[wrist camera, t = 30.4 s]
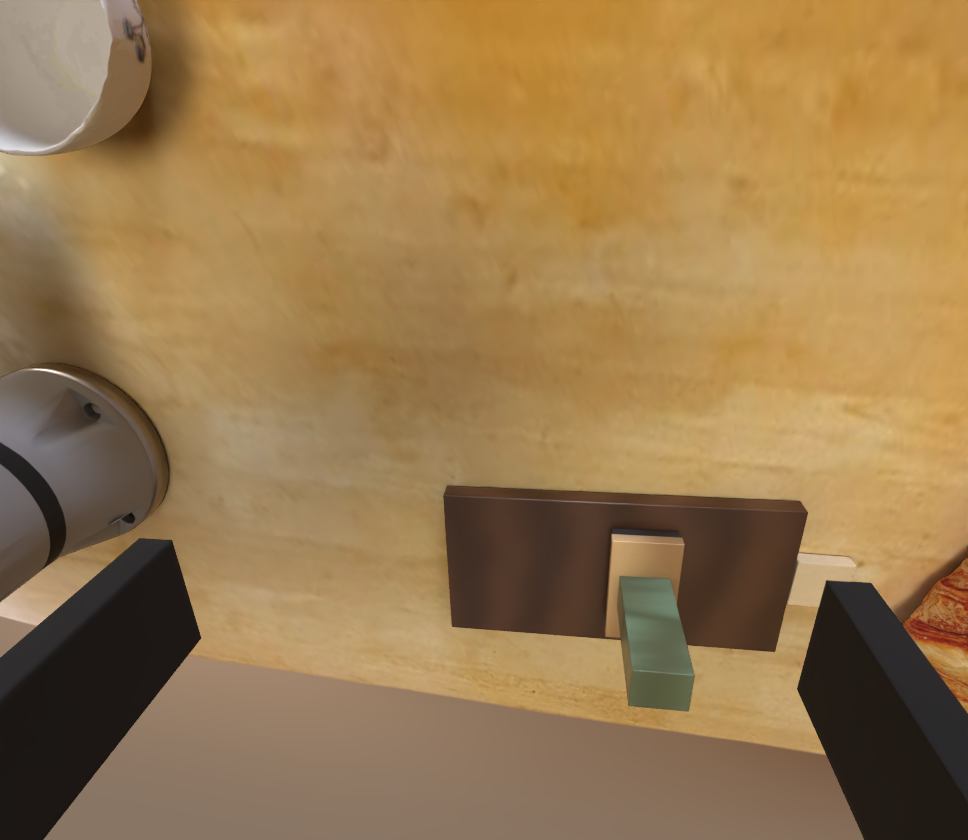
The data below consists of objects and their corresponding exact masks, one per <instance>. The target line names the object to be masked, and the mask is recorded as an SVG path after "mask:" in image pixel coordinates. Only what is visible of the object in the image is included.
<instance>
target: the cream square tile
mask: <svg viewBox="0 0 968 840" xmlns="http://www.w3.org/2000/svg"><path fill="white" fill-rule="evenodd" d="M855 570H856V566H855V564H854V563H853V561H852V560H851V559H850V557H842V556H830V555H817V554H804V553H798V557H797V561H796V565H795V569H794V574H793V578H792V582H791V586H790V590H789V595H788V599H787V604H788V605H799V606H810V607H819V605H820V601H821V598H822V594H823V590H824V586H825V583H826V580H830V581H846V582H852V579H853V576H854V573H855Z"/></svg>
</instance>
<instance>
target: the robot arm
mask: <svg viewBox="0 0 968 840" xmlns="http://www.w3.org/2000/svg"><path fill="white" fill-rule="evenodd" d="M167 484H168V465H167V459H166V455H165V452H164V449H163V446H162V443H161V441H160V439H159V436H158V435H157V433H156V431H155V429H154V427H153V426H152V424H151V423H150V421H149V420H148V418H147V417H146V416H145V414H144V413H143V412H142V411H141V409H140V408H139V407H138V406H137V405H136V404H135V403H134V402H133V401H132V400H131V399H130V398H129V397H128V396H127V395H126V394H124V393H123V392H122V391H121V390H119V389H118V388H117V387H115V386H114V385H113V384H111V383H110V382H108V381H106V380H105V379H103V378H101V377H99V376H97V375H95V374H93V373H91V372H89V371H86V370H84V369H81V368H78V367H74V366H70V365H65V364H57V363H43V364H36V365H32V366H29V367H26V368H23V369H20V370H17V371H15V372H12V373H9V374H7V375H4V376H2V377H0V602H1V601H2V600H4V599H5V598H6V597H7V596H9V595H10V594H11V593H13V592H14V591H15V590H17V589H18V588H19V587H20V586H22V585H23V584H24V583H26V582H27V581H28V580H30V579H31V578H32V577H34V576H35V575H36V574H37V573H38V572H40V571H41V570H42V569H44V568H45V567H46V566H48V565H49V564H50V563H52V562H53V561H55V560H56V559H57V558H59V557H61V556H64V555H67V554H69V553H72V552H75V551H78V550H80V549H83V548H86V547H89V546H91V545H94V544H97V543H100V542H102V541H105V540H108V539H111V538H113V537H116V536H119V535H121V534H124V533H126V532H129V531H130V530H132V529H134V528H135V527H136V526H137V525H139V524H140V523H141V522H142V521H144V520H145V519H146V518H147V517H148V516H150V515H151V514H152V513H153V512H154V511H155V510H156V509H157V508H158V506H159V505H160V504H161V502H162V500H163V498H164V495H165V493H166V489H167ZM200 639H201V636H200V632H199V629H198V626H197V622H196V619H195V616H194V612H193V609H192V606H191V602H190V599H189V595H188V592H187V589H186V585H185V582H184V579H183V575H182V572H181V569H180V565H179V562H178V559H177V555H176V552H175V549H174V545H173V542H172V540H159V539H143V538H139V539H138V540H137V541H136V542H135V543H134V544H132V545H131V546H130V547H129V548H128V549H127V550H125V551H124V552H123V553H122V554H121V555H120V556H118V557H117V558H116V559H115V560H114V561H113V562H111V563H110V564H109V565H108V566H107V567H106V568H104V569H103V570H102V571H101V572H100V573H99V574H97V575H96V576H95V577H94V578H93V579H92V580H90V581H89V582H88V583H87V584H86V585H85V586H83V587H82V588H81V589H80V590H79V591H78V592H76V593H75V594H74V595H73V596H72V597H71V598H69V599H68V600H67V601H66V602H65V603H64V604H62V605H61V606H60V607H59V608H58V609H57V610H55V611H54V612H53V613H52V614H51V615H50V616H48V617H47V618H46V619H45V620H44V621H43V622H41V623H40V624H39V625H38V626H37V627H36V628H34V629H33V630H32V631H31V632H30V633H29V634H28V635H26V636H25V637H24V638H23V639H22V640H20V641H19V642H18V643H17V644H16V645H15V646H14V647H12V648H11V649H10V650H9V651H8V652H7V653H5V654H4V655H3V656H2V657H1V658H0V840H43V839H44V838H45V837H46V835H47V834H48V833H49V832H50V830H51V829H52V828H53V827H54V825H55V824H56V823H57V821H58V820H59V819H60V818H61V816H62V815H63V813H64V812H65V811H66V810H67V809H68V807H69V806H70V805H71V803H72V802H73V801H74V800H75V798H76V797H77V796H78V795H79V793H80V792H81V791H82V790H83V788H84V787H85V786H86V784H87V783H88V782H89V781H90V779H91V778H92V777H93V775H94V774H95V773H96V772H97V770H98V769H99V768H100V766H101V765H102V764H103V763H104V761H105V760H106V759H107V758H108V756H109V755H110V753H111V752H112V751H113V750H114V749H115V747H116V746H117V745H118V743H119V742H120V741H121V740H122V738H123V737H124V736H125V735H126V733H127V732H128V731H129V729H130V728H131V727H132V725H133V724H134V723H135V722H136V720H137V719H138V718H139V717H140V715H141V714H142V713H143V712H144V710H145V709H146V708H147V707H148V705H149V704H150V703H151V701H152V700H153V699H154V698H155V696H156V695H157V694H158V692H159V691H160V690H161V689H162V687H163V686H164V685H165V684H166V682H167V681H168V680H169V679H170V677H171V676H172V675H173V673H174V672H175V671H176V669H177V668H178V667H179V666H180V664H181V663H182V662H183V661H184V659H185V658H186V657H187V656H188V654H189V653H190V652H191V650H192V649H193V648H194V647H195V645H196V644H197V643H198V642H199V640H200ZM797 690H798V692H799V694H800V697H801V699H802V701H803V703H804V706H805V708H806V710H807V712H808V715H809V717H810V719H811V721H812V724H813V726H814V728H815V730H816V733H817V735H818V737H819V739H820V741H821V744H822V746H823V748H824V750H825V753H826V755H827V757H828V759H829V762H830V764H831V766H832V768H833V771H834V773H835V775H836V777H837V779H838V782H839V784H840V786H841V788H842V791H843V793H844V795H845V797H846V799H847V802H848V804H849V806H850V809H851V811H852V813H853V815H854V817H855V820H856V822H857V824H858V827H859V829H860V831H861V833H862V835H863V838H864V840H968V713H967V711H966V710H965V709H964V707H963V706H962V705H961V703H960V702H959V701H958V699H957V698H956V697H955V695H954V694H953V693H952V691H951V690H950V689H949V687H948V686H947V685H946V683H945V682H944V681H943V679H942V678H941V676H940V675H939V674H938V672H937V671H936V670H935V668H934V667H933V666H932V664H931V663H930V662H929V660H928V659H927V658H926V656H925V655H924V654H923V652H922V651H921V650H920V648H919V647H918V645H917V644H916V643H915V641H914V640H913V639H912V637H911V636H910V635H909V633H908V632H907V631H906V629H905V628H904V627H903V625H902V624H901V623H900V621H899V620H898V619H897V617H896V616H895V615H894V613H893V612H892V610H891V609H890V608H889V606H888V605H887V604H886V602H885V601H884V600H883V598H882V597H881V596H880V594H879V593H878V592H877V590H876V589H875V588H874V586H873V585H872V584H871V583H862V582H846V581H830V580H826V583H825V586H824V590H823V594H822V598H821V601H820V605H819V609H818V613H817V616H816V620H815V624H814V628H813V631H812V635H811V639H810V643H809V646H808V650H807V654H806V658H805V661H804V665H803V669H802V673H801V676H800V680H799V684H798V688H797Z"/></svg>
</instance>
